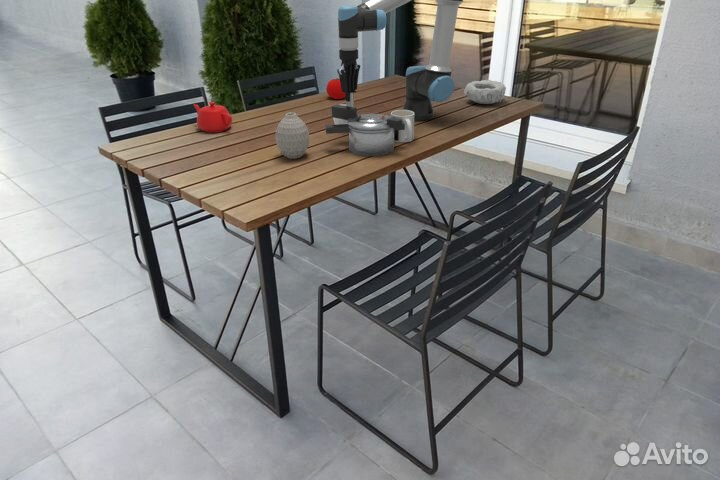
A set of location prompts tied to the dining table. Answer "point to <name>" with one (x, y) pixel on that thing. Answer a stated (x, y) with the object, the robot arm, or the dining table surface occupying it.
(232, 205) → the dining table surface
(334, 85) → the tomato
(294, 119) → the vase
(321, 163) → the dining table surface
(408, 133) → the mug
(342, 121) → the cup
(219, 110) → the teapot
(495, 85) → the bowl
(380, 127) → the lid
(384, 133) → the pot
